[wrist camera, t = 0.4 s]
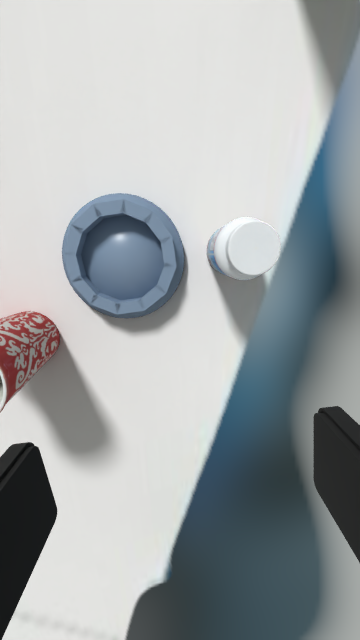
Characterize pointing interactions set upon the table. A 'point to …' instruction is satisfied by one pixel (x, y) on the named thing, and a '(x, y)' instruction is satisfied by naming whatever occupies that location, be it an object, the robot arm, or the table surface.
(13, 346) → the mug
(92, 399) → the table surface
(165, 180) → the table surface
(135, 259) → the round tray
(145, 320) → the table surface
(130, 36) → the table surface
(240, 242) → the pill bottle
